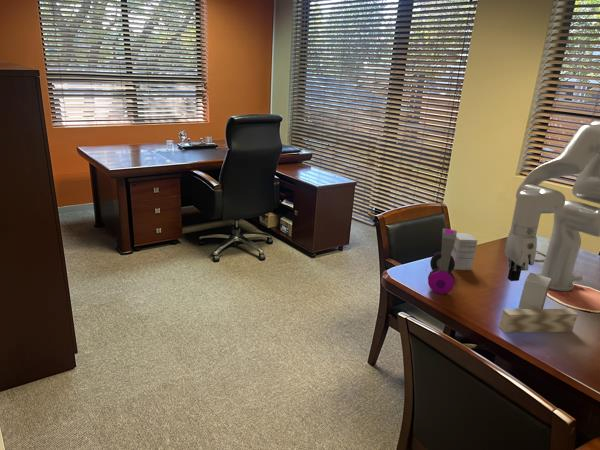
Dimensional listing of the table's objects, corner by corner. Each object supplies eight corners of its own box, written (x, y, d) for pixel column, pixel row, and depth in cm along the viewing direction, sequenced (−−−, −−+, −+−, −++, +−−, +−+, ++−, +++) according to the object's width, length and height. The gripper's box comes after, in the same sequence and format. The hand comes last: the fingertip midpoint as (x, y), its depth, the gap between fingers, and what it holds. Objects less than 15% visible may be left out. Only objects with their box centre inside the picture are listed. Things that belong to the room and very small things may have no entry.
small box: (537, 325, 136) (547, 287, 132) (515, 317, 139) (524, 280, 135) (541, 314, 142) (552, 278, 138) (520, 307, 146) (529, 271, 141)
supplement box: (446, 261, 178) (451, 232, 174) (463, 262, 179) (469, 232, 174) (453, 269, 171) (459, 239, 167) (471, 270, 172) (478, 239, 167)
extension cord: (545, 251, 196) (546, 247, 196) (548, 265, 183) (549, 260, 182) (515, 246, 201) (516, 242, 200) (516, 258, 187) (517, 254, 186)
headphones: (452, 298, 149) (463, 242, 142) (425, 292, 152) (434, 238, 145) (452, 273, 168) (462, 223, 161) (428, 269, 170) (437, 219, 164)
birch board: (565, 325, 137) (570, 308, 134) (572, 331, 134) (577, 314, 132) (498, 326, 134) (503, 309, 132) (504, 332, 131) (508, 314, 129)
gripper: (549, 237, 136) (537, 290, 142) (520, 220, 149) (510, 269, 156) (526, 238, 135) (515, 291, 141) (500, 221, 149) (490, 270, 155)
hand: (513, 279), depth 149 cm, fingers closed
